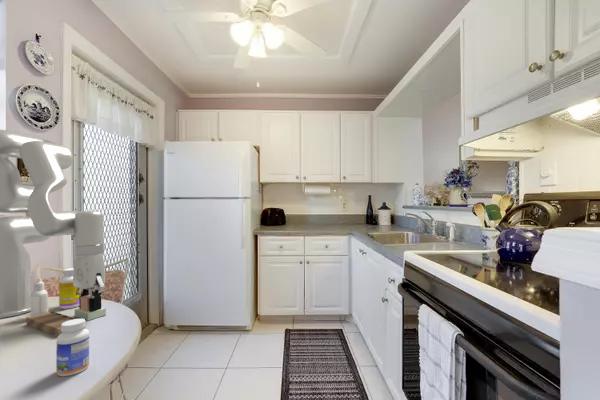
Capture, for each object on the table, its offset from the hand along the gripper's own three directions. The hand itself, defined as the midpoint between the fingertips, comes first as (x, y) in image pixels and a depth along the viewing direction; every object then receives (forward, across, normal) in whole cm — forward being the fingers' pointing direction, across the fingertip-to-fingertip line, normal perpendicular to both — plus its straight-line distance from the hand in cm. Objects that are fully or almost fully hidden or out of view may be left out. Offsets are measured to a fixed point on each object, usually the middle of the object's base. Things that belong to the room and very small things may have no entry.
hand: (90, 308), depth 93 cm
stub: (+2, 0, 0) cm, 2 cm away
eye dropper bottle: (+3, -14, -8) cm, 16 cm away
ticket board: (+2, 0, -9) cm, 9 cm away
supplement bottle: (+3, -17, +2) cm, 17 cm away
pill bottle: (+3, +32, -18) cm, 37 cm away
